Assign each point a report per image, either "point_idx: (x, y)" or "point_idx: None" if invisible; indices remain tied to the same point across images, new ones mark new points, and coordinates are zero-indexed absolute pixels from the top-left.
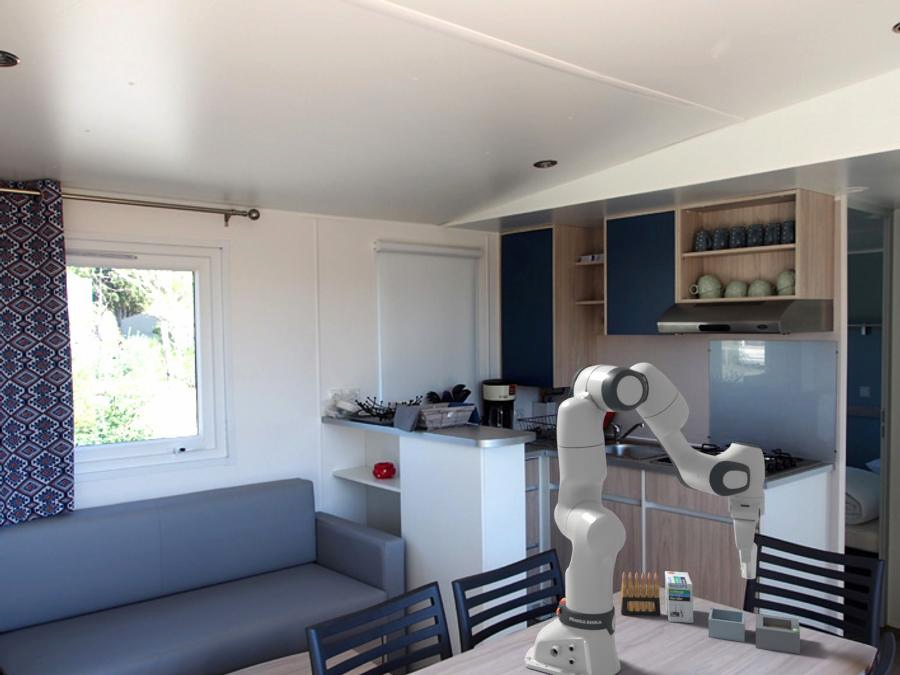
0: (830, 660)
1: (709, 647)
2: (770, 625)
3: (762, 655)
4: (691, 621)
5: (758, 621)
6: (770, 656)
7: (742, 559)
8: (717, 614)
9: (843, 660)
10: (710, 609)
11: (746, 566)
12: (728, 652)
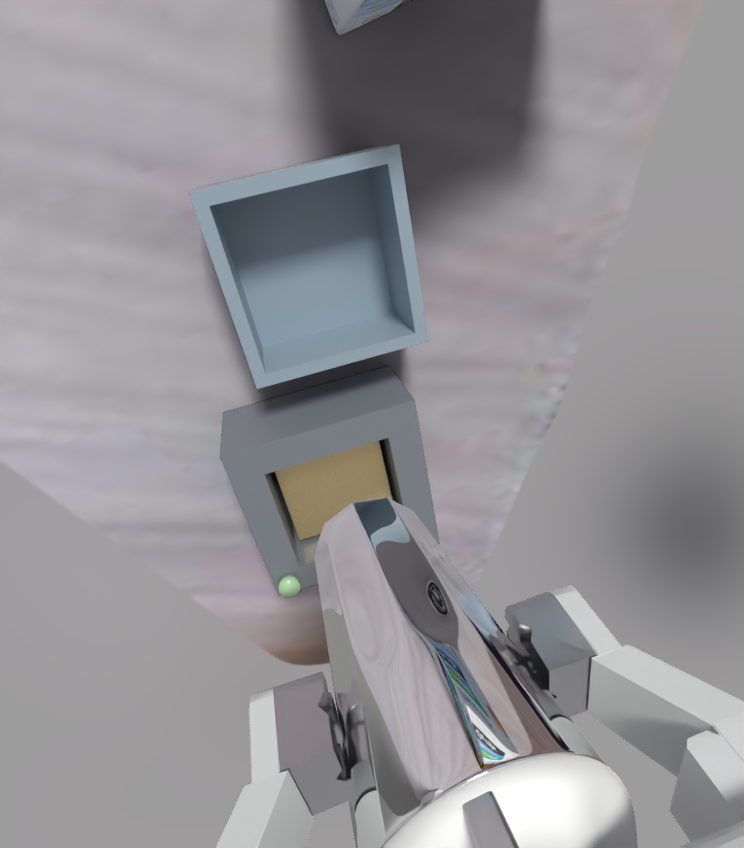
0: (285, 609)
1: (60, 236)
2: (379, 449)
3: (163, 454)
4: (332, 21)
5: (314, 440)
6: (177, 478)
7: (251, 735)
8: (385, 191)
9: (310, 629)
10: (366, 152)
11: (327, 642)
12: (78, 335)
